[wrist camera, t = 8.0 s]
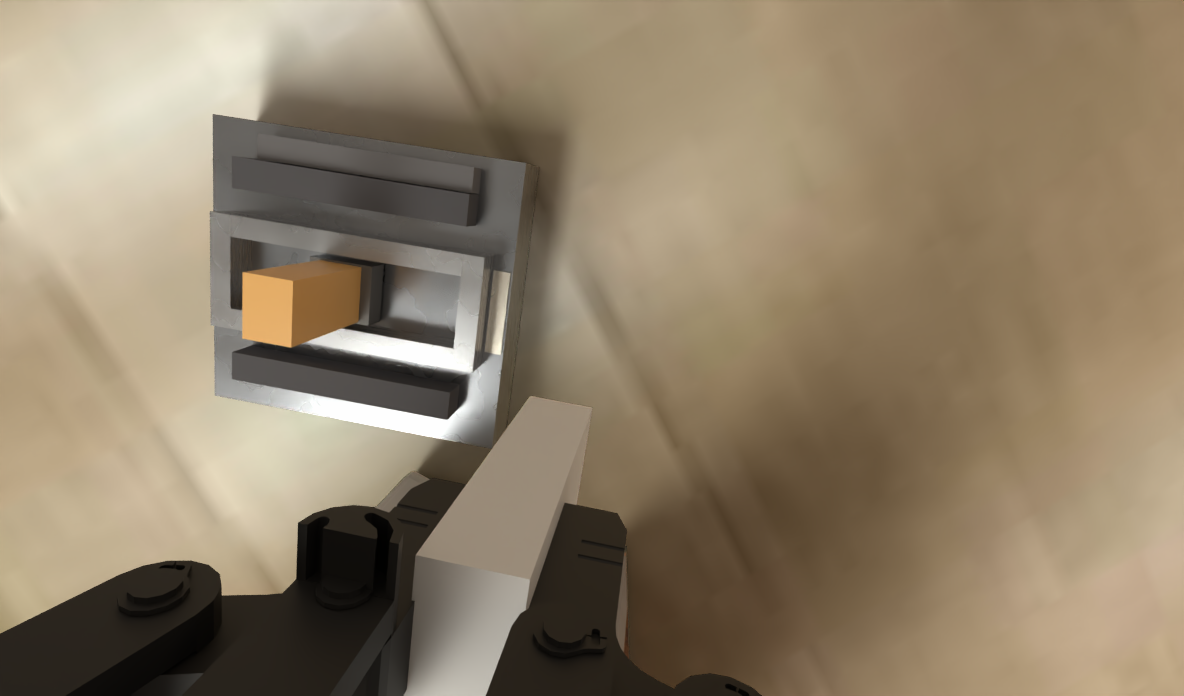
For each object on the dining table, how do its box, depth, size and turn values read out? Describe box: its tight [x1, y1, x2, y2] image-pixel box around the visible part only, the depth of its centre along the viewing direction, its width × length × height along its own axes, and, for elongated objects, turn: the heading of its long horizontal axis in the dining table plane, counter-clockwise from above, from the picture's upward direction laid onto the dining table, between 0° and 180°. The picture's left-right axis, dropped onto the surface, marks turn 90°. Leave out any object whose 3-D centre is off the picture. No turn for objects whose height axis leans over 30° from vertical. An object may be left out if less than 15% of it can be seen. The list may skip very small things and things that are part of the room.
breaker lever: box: [242, 254, 384, 348], centre depth 25 cm, size 3×3×6 cm
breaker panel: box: [210, 114, 539, 449], centre depth 29 cm, size 15×14×4 cm
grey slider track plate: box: [232, 133, 482, 420], centre depth 28 cm, size 11×12×1 cm
